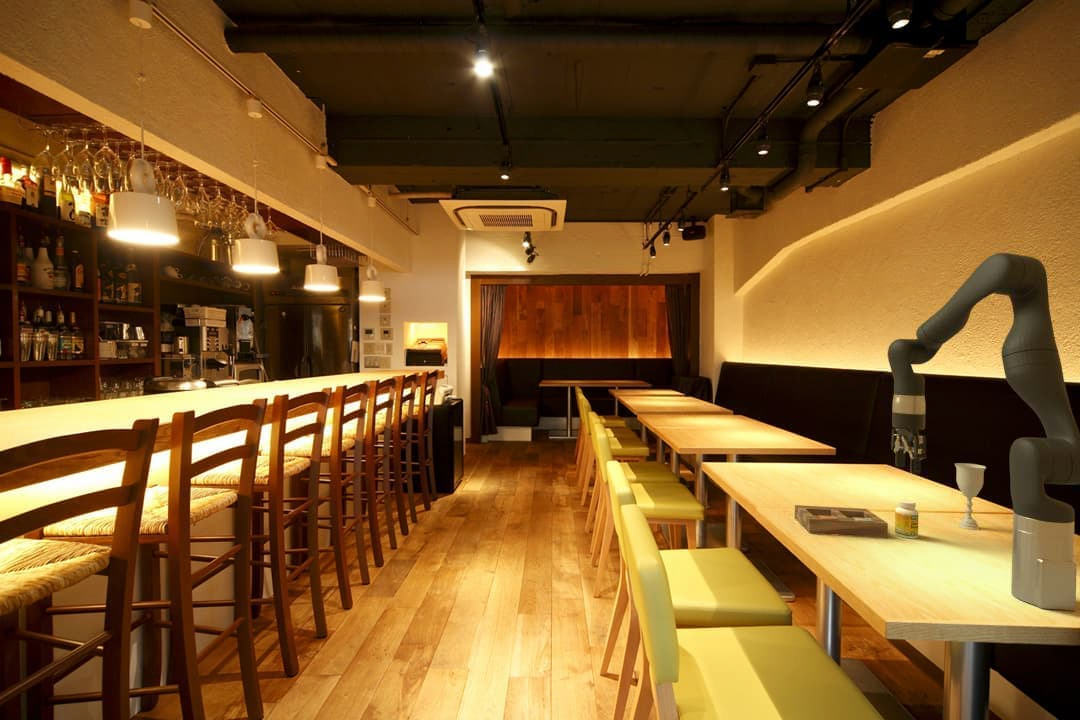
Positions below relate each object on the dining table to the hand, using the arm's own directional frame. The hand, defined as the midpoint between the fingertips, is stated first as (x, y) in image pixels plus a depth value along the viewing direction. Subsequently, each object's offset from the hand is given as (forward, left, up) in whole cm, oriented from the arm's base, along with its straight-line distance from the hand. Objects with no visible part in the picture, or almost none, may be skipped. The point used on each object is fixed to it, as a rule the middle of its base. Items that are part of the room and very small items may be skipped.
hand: (907, 469), depth 150 cm
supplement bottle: (0, 0, -18) cm, 18 cm away
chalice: (+12, -22, -18) cm, 31 cm away
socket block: (+4, +16, -18) cm, 25 cm away
